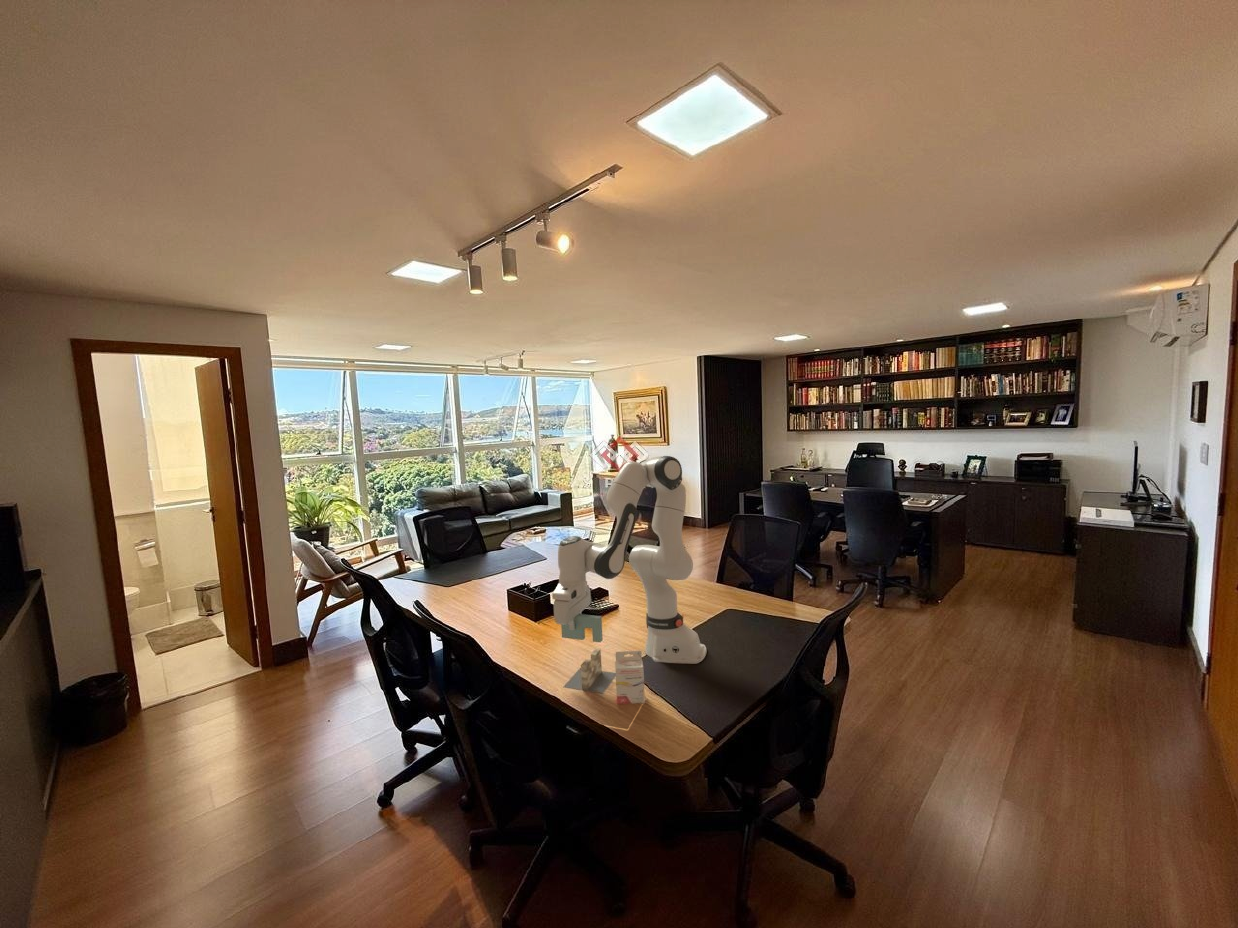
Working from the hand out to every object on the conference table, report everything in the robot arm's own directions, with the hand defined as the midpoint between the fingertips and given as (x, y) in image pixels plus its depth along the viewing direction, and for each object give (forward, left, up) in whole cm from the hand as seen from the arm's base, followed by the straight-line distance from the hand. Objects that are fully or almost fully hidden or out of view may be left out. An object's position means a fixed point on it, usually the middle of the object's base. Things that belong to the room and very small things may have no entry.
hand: (574, 627), depth 164 cm
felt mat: (-5, 0, -18) cm, 19 cm away
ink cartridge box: (-21, +7, -18) cm, 29 cm away
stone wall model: (-5, 0, -18) cm, 18 cm away
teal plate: (-2, 0, -4) cm, 4 cm away
